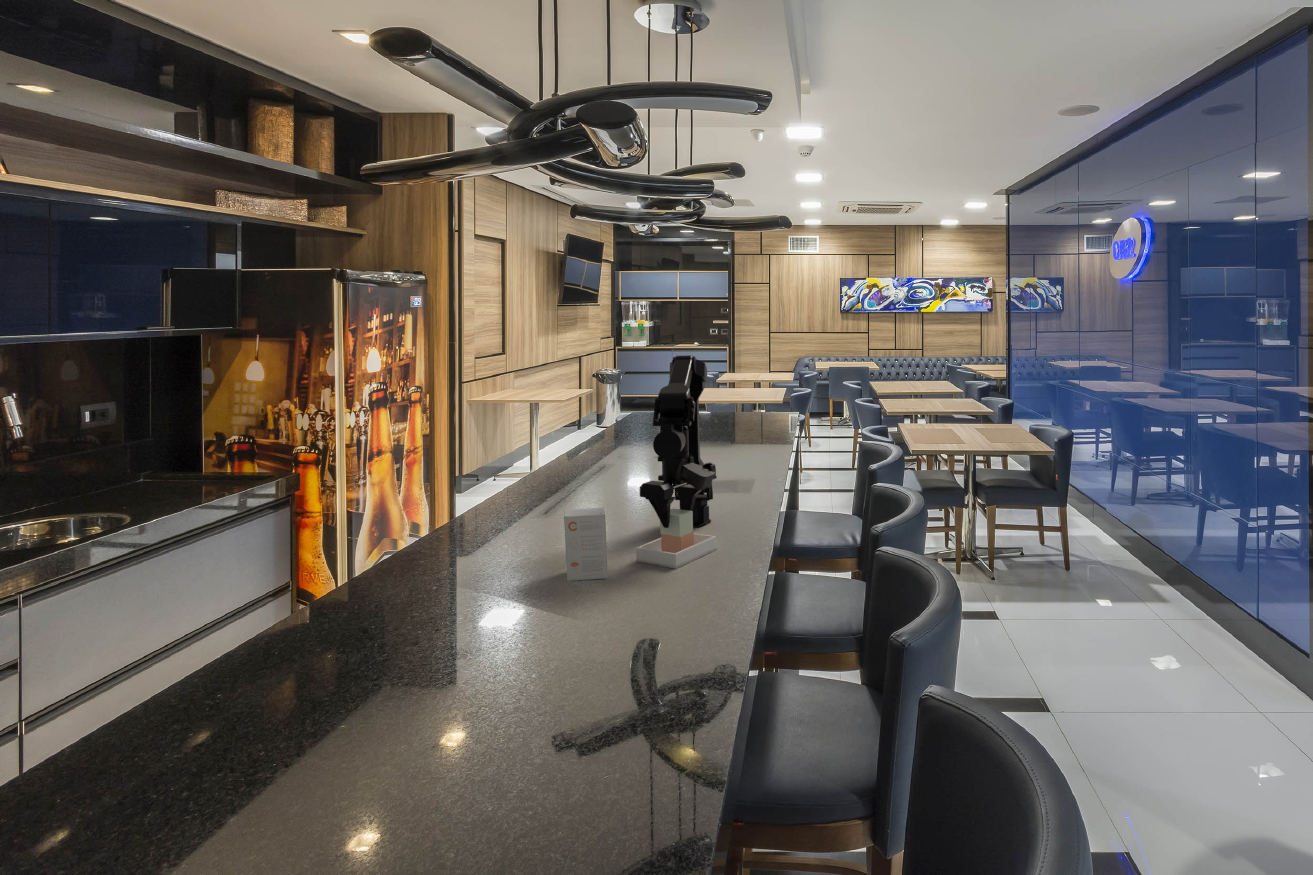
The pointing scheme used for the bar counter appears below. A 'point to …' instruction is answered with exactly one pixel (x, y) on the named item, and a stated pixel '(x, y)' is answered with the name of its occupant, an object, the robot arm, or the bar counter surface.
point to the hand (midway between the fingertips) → (676, 523)
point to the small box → (585, 544)
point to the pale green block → (678, 523)
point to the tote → (656, 556)
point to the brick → (676, 542)
